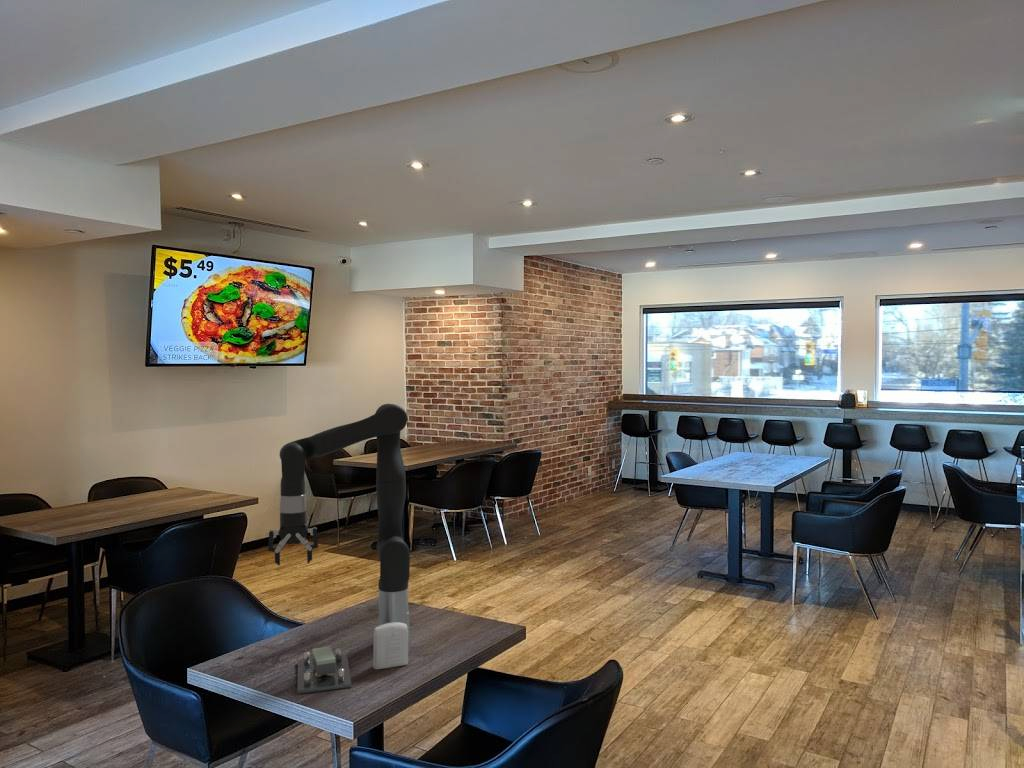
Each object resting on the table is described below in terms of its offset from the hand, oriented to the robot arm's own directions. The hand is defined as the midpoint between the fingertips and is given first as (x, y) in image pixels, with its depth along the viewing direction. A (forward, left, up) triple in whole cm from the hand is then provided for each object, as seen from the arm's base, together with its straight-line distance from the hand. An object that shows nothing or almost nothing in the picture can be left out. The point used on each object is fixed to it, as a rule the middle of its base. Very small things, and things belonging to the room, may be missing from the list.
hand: (293, 563), depth 216 cm
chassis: (-8, +16, -28) cm, 33 cm away
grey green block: (-8, +16, -26) cm, 32 cm away
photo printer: (-27, +15, -28) cm, 42 cm away
